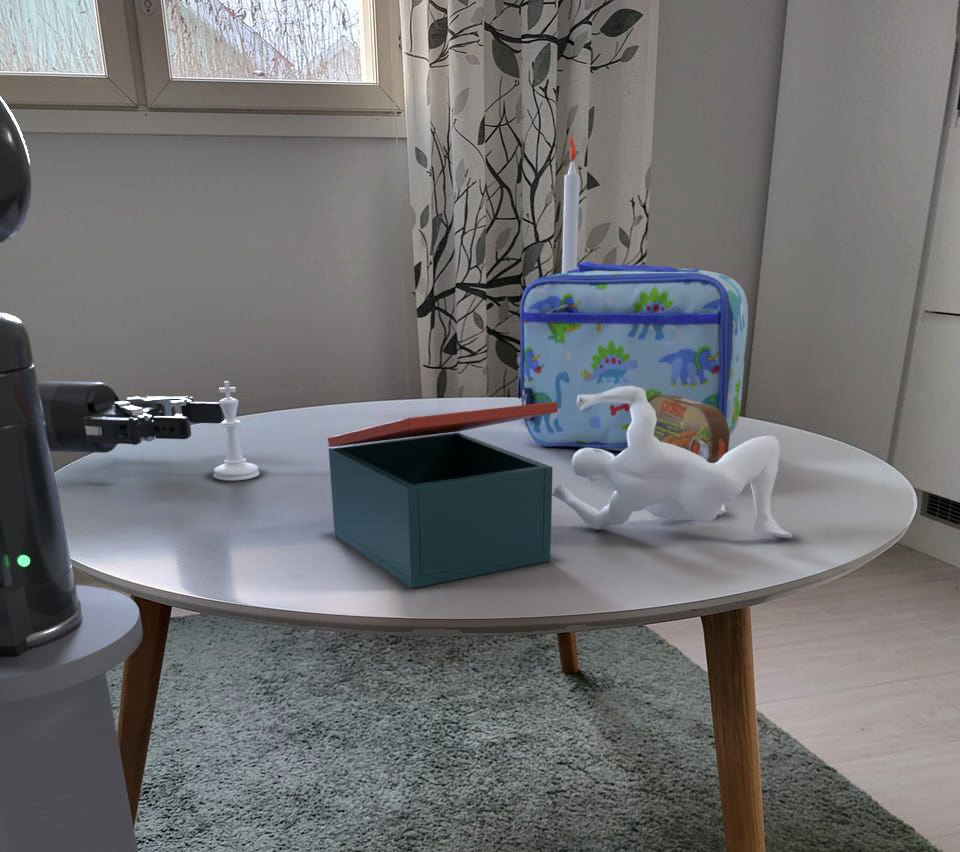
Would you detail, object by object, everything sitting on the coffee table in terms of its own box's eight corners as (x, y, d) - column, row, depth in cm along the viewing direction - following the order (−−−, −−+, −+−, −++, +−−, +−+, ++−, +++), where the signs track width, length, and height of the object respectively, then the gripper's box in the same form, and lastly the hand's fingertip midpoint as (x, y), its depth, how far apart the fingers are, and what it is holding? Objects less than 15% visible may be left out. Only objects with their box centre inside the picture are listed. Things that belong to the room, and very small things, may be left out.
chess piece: (261, 478, 104) (251, 384, 100) (213, 482, 103) (202, 386, 99) (258, 468, 108) (249, 377, 104) (213, 471, 107) (202, 379, 103)
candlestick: (521, 415, 136) (524, 136, 122) (597, 414, 137) (609, 136, 123) (529, 431, 126) (533, 129, 112) (611, 429, 127) (626, 129, 113)
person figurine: (749, 392, 88) (581, 369, 80) (838, 450, 79) (658, 431, 71) (698, 519, 95) (539, 509, 87) (775, 586, 85) (603, 582, 78)
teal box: (550, 561, 79) (553, 466, 75) (411, 589, 73) (407, 488, 70) (459, 514, 91) (458, 432, 88) (334, 535, 85) (328, 447, 82)
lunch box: (507, 445, 118) (508, 262, 110) (543, 429, 127) (546, 259, 119) (717, 468, 107) (736, 266, 99) (741, 448, 116) (760, 262, 108)
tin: (632, 464, 109) (636, 388, 106) (657, 461, 110) (662, 386, 107) (702, 497, 96) (710, 412, 93) (730, 494, 97) (738, 409, 94)
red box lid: (558, 412, 73) (557, 401, 73) (409, 429, 68) (407, 418, 67) (458, 431, 88) (457, 422, 88) (328, 447, 82) (327, 437, 82)
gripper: (22, 392, 98) (172, 395, 96) (95, 372, 111) (228, 374, 109) (36, 465, 101) (182, 470, 99) (106, 437, 114) (236, 441, 112)
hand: (206, 420), depth 104 cm, fingers open, 8 cm apart
